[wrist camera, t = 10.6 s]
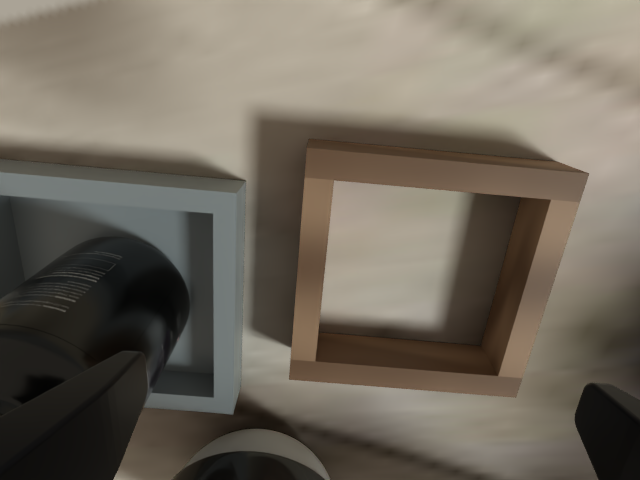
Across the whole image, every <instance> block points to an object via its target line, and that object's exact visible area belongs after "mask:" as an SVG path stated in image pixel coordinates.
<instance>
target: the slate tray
mask: <svg viewBox="0 0 640 480" xmlns="http://www.w3.org/2000/svg"><path fill="white" fill-rule="evenodd" d="M245 199H246V181H241V180H230V179H219V178H208V177H197V176H185V175H174V174H163V173H152V172H141V171H130V170H118V169H107V168H96V167H85V166H74V165H62V164H51V163H40V162H29V161H18V160H7V159H0V299H1V298H3V297H4V296H6V295H7V294H8V293H10V292H11V291H12V290H14V289H15V288H17V287H18V286H19V285H21V284H22V283H23V282H25V281H26V280H28V279H29V278H30V277H32V276H33V275H34V274H36V273H37V272H39V271H40V270H41V269H43V268H44V267H45V266H47V265H48V264H50V263H51V262H52V261H54V260H55V259H57V258H58V257H59V256H61V255H62V254H64V253H65V252H67V251H68V250H70V249H71V248H73V247H74V246H76V245H78V244H80V243H82V242H84V241H87V240H90V239H94V238H99V237H107V236H116V237H125V238H129V239H133V240H137V241H140V242H142V243H145V244H147V245H149V246H151V247H153V248H154V249H156V250H158V251H159V252H160V253H162V254H163V255H164V256H166V257H167V258H168V259H169V260H170V261H171V262H172V263H173V264H174V265H175V267H176V268H177V269H178V271H179V272H180V274H181V275H182V277H183V279H184V281H185V283H186V286H187V289H188V293H189V298H190V311H189V317H188V320H187V323H186V326H185V328H184V330H183V332H182V334H181V336H180V338H179V340H178V342H177V344H176V346H175V348H174V350H173V352H172V354H171V356H170V358H169V360H168V362H167V363H166V365H165V367H164V369H163V371H162V373H161V375H160V377H159V379H158V381H157V383H156V385H155V386H154V388H153V390H152V392H151V394H150V396H149V398H148V400H147V402H146V404H145V406H144V407H145V408H158V409H170V410H183V411H196V412H209V413H222V414H233V413H234V409H235V405H236V402H237V398H238V394H239V391H240V387H241V361H242V320H243V280H244V239H245Z"/></svg>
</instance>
